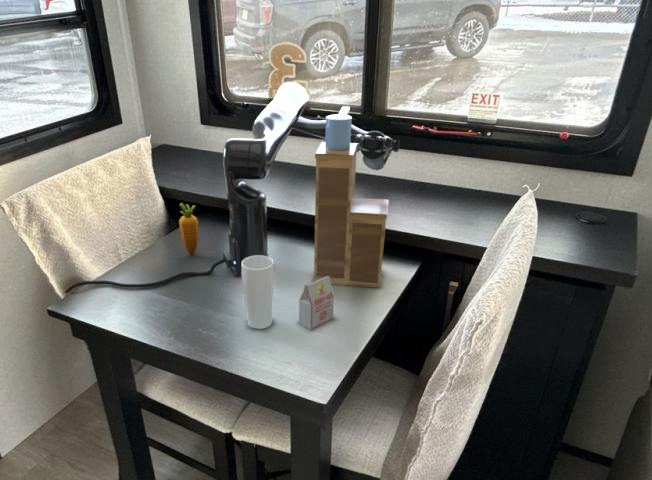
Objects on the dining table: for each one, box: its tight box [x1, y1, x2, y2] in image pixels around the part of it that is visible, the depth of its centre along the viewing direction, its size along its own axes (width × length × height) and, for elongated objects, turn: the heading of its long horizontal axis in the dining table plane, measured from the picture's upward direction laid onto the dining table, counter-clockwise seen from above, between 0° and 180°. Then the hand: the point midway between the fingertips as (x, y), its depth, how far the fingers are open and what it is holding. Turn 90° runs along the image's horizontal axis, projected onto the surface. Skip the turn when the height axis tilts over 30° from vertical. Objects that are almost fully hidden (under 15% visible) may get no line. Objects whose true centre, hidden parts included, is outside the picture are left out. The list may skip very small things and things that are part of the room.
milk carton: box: [298, 276, 335, 331], centre depth 118 cm, size 4×7×10 cm, turn 129°
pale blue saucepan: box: [324, 106, 353, 150], centre depth 127 cm, size 18×6×7 cm, turn 167°
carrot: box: [178, 202, 199, 257], centre depth 146 cm, size 5×5×15 cm
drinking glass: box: [241, 255, 275, 330], centre depth 116 cm, size 7×7×15 cm
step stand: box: [313, 141, 390, 289], centre depth 130 cm, size 10×16×32 cm, turn 77°
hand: (370, 140), depth 138 cm, fingers open, 8 cm apart
